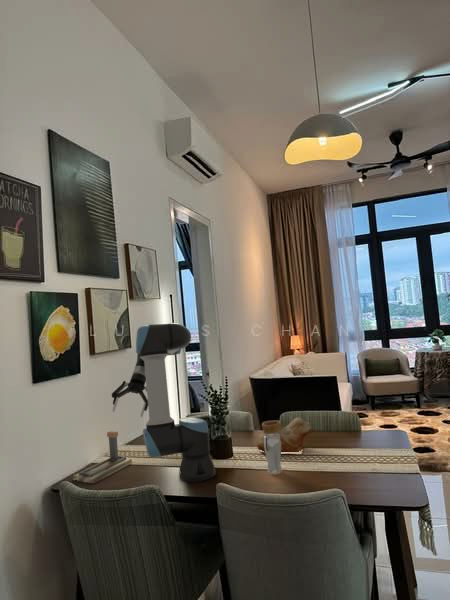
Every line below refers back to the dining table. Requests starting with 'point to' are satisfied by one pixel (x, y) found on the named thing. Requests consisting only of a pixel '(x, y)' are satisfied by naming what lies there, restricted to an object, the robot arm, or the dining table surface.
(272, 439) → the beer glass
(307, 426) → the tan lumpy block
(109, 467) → the fader console
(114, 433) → the fader lever
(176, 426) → the robot arm
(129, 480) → the dining table surface
